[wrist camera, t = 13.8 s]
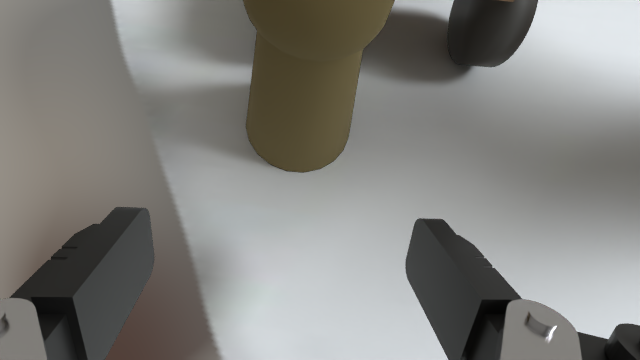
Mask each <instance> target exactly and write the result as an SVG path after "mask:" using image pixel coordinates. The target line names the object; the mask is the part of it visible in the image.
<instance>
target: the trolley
mask: <svg viewBox="0 0 640 360" xmlns="http://www.w3.org/2000/svg"><path fill="white" fill-rule="evenodd" d="M537 3H538V0H454V2H453V6H452V9H451V13H450V18H449V24H448V33H447V41H448V49H449V53H450V56H451V58H452V59H453V61H454V62H456V63H457V64H460V65H471V66H482V67H495V66H498V65H500V64H502V63H504V62H505V61H506V60H508V59H509V58H510V57H511V56H512V55H513V54H514V52H515V51H516V50H517V49H518V47H519V46H520V45H521V43H522V41H523V40H524V38H525V36H526V34H527V32H528V30H529V28H530V26H531V23H532V21H533V18H534V15H535V11H536V8H537Z"/></svg>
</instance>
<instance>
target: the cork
mask: <svg viewBox="0 0 640 360" xmlns="http://www.w3.org/2000/svg"><path fill="white" fill-rule="evenodd" d="M394 1H395V0H243V2H244V6H245V9H246V11H247V14H248V16H249V19H250V21H251V22H252V24H253V25H254V26H255V28H256V29H257V35H256V44H255V52H254V61H253V69H252V78H251V86H250V95H249V103H248V112H247V120H246V129H247V134H248V138H249V142H250V143H251V145H252V146H253V148H254V149H255V151H256V152H257V154H258V155H259V156H261V157H262V158H263V159H264V160H266V161H267V162H268V163H269V164H271V165H273V166H276V167H278V168H281V169H283V170H286V171H294V172H308V171H313V170H317V169H321V168H322V167H324V166H326V165H328V164H330V163H331V162H333V161H334V160H335V159H336V158H337V157H338V156H339V155H340V153H341V152H342V151H343V150H344V147H345V145H346V142H347V140H348V137H349V131H350V125H351V119H352V113H353V107H354V101H355V95H356V89H357V83H358V77H359V71H360V65H361V59H362V53H363V49H364V48H365V47H366V46H367V45H368V44H369V43H370V42H371V41H372V40H373V39H374V38H375V37H376V36H377V35H378V33H379V32H380V31H381V30H382V28H383V27H384V26H385V23H386V21H387V18H388V16H389V13H390V11H391V9H392V6H393V4H394Z"/></svg>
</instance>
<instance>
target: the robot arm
mask: <svg viewBox="0 0 640 360" xmlns="http://www.w3.org/2000/svg"><path fill="white" fill-rule="evenodd" d="M153 264H154V248H153V240H152V232H151V222H150V215H149V212H148V210H147V209H146V208H130V207H116V208H115V209H114V210H113V211H112V212H111V213H110V214H109V215H108V216H107V217H106V218H105V219H104V220H103V221H102V222H101V223H100V224H93V225H91V226H89V227H87V228H85V229H83V230H81V231H80V232H78V233H76V234H74V236H72V237H71V238H70V239H69V240H68V241H67V242H66V243H65V244H64V245H63V246H62V249H59V250H58V251H57V252H56V253H55V254H54V255H53V256H52V257H51V260H48V261H47V262H46V263H45V264H44V265H42V266H41V268H39V269H38V270H37V272H35V273H34V274H33V275H32V276H31V277H30V278H29V279H28V280H27V281H26V282H25V283H24V284H23V285H22V286H21V287H20V288H19V289H18V290H17V291H16V292H15V293H14V294H13V295H12V296H11V297H10V298H7V299H0V360H105V358H106V356H107V355H108V353H109V351H110V349H111V347H112V345H113V343H114V342H115V340H116V338H117V336H118V334H119V332H120V331H121V328H122V327H123V325H124V323H125V321H126V319H127V318H128V316H129V314H130V312H131V310H132V308H133V307H134V305H135V303H136V301H137V299H138V297H139V295H140V294H141V292H142V290H143V288H144V286H145V285H146V282H147V281H148V279H149V277H150V275H151V272H152V269H153ZM406 274H407V278H408V280H409V282H410V284H411V286H412V288H413V290H414V292H415V294H416V296H417V298H418V300H419V302H420V304H421V306H422V308H423V310H424V312H425V314H426V316H427V318H428V320H429V322H430V324H431V326H432V328H433V330H434V332H435V334H436V336H437V338H438V340H439V342H440V344H441V346H442V348H443V350H444V352H445V354H446V356H447V358H448V360H640V326H639V325H634V324H620V325H618V326H616V328H615V329H614V331H613V333H612V334H611V336H610V338H609V339H605V338H600V337H596V336H592V335H588V334H584V333H580V332H577V331H576V330H575V328H574V327H573V325H572V324H571V323H570V322H569V321H568V320H567V319H566V318H564V317H563V316H562V315H561V314H559V313H558V312H556V311H555V310H553V309H551V308H549V307H547V306H545V305H543V304H540V303H538V302H535V301H531V300H525V299H522V298H521V297H520V296H519V295H518V294H517V293H516V291H515V290H514V289H513V288H512V287H511V286H510V285H509V284H508V283H507V281H506V280H505V279H504V278H503V277H502V276H501V275H500V274H499V272H498V271H497V270H496V269H495V268H492V265H491V264H490V262H489V261H488V260H487V259H486V258H484V256H483V255H482V253H481V252H480V251H479V250H478V249H477V248H476V247H475V246H474V245H473V244H472V243H470V242H469V241H467V240H466V239H464V238H463V237H461V236H459V235H456V233H455V232H454V231H453V230H452V229H451V228H450V226H449V225H448V224H447V223H446V222H445V221H444V220H443V219H422V218H419V219H417V220H416V222H415V224H414V228H413V232H412V237H411V241H410V245H409V249H408V253H407V257H406Z"/></svg>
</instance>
